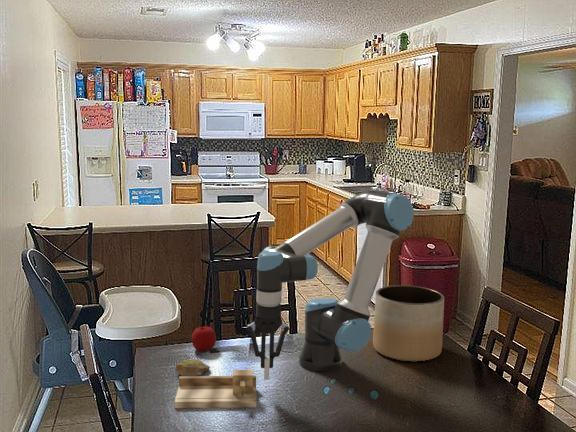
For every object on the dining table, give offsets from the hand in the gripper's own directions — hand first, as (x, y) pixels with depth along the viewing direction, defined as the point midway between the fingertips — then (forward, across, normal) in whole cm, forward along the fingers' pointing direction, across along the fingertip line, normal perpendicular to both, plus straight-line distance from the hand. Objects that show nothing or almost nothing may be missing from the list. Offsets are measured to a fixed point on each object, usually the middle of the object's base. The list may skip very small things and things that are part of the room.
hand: (266, 377), depth 177 cm
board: (+7, +15, 0) cm, 16 cm away
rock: (+7, +24, -20) cm, 32 cm away
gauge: (+5, +7, +2) cm, 9 cm away
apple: (+7, +22, -39) cm, 45 cm away
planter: (+5, -54, -37) cm, 66 cm away
